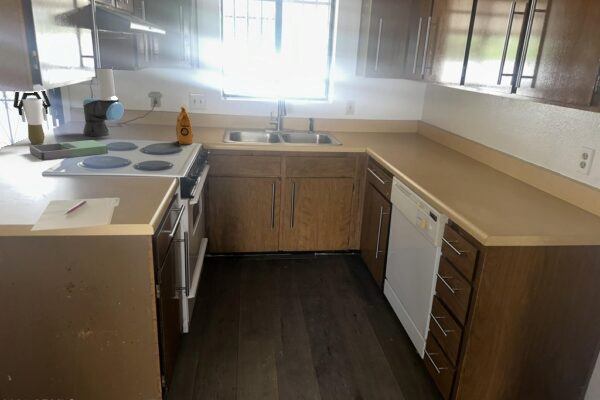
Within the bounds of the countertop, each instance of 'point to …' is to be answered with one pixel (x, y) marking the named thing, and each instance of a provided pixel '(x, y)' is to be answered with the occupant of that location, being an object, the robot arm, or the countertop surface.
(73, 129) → the countertop surface
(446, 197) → the countertop surface
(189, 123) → the coffee package
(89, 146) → the grey green tray
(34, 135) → the squeeze bottle
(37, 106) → the foam cup
